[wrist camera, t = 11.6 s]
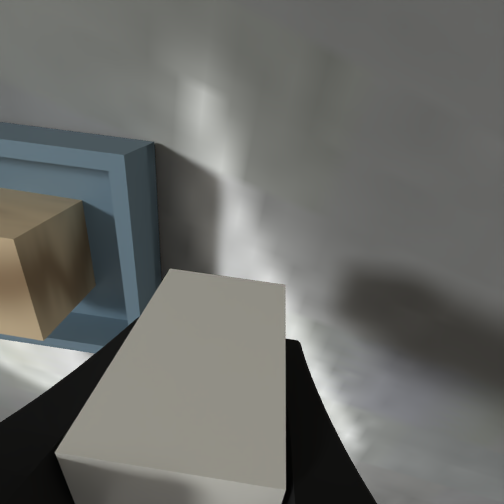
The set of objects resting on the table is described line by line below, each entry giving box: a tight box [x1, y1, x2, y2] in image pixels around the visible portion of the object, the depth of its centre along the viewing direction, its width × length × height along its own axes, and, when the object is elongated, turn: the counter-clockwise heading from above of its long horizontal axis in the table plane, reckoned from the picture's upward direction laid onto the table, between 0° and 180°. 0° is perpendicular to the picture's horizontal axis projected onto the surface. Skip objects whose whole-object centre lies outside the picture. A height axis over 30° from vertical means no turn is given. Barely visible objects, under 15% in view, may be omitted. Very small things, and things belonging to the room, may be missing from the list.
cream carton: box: [55, 269, 286, 504], centre depth 9 cm, size 4×4×6 cm
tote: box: [0, 122, 161, 353], centre depth 18 cm, size 13×13×4 cm
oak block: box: [0, 188, 96, 341], centre depth 17 cm, size 6×5×5 cm
